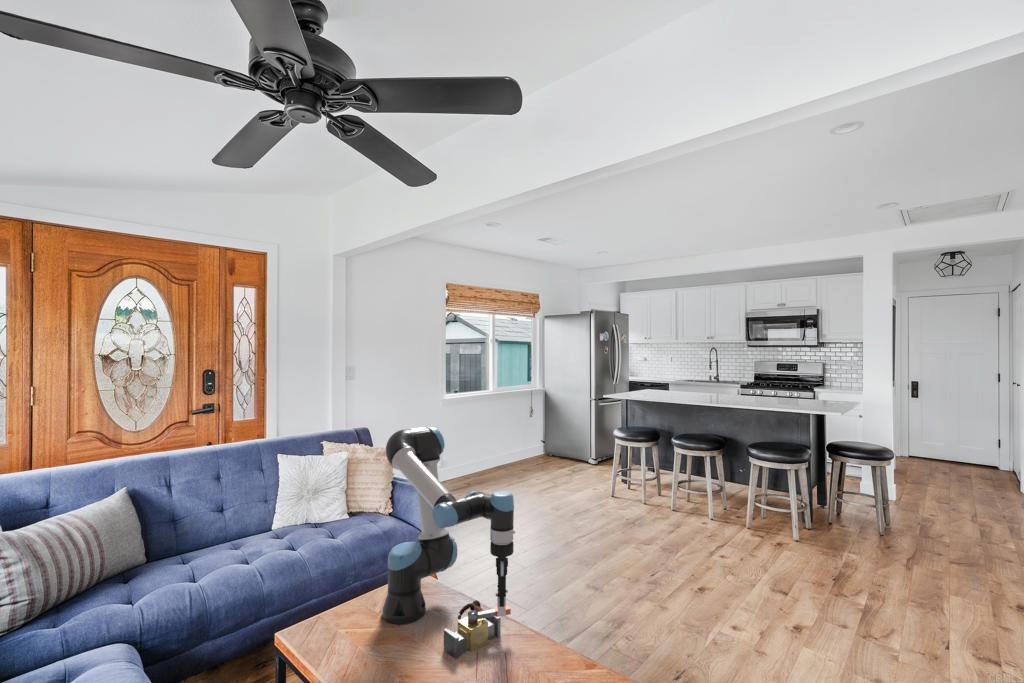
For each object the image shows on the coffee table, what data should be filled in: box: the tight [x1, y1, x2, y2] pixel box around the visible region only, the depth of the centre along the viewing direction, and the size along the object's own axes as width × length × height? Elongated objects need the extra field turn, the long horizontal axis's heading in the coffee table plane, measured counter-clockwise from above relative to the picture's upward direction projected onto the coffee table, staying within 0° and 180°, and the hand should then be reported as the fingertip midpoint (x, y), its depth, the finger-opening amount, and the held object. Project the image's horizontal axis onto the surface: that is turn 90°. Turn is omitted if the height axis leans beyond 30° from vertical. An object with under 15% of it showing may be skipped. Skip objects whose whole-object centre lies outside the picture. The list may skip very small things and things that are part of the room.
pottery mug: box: [457, 600, 485, 621], centre depth 170 cm, size 12×10×8 cm
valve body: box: [443, 616, 502, 661], centre depth 159 cm, size 7×18×7 cm, turn 132°
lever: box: [467, 605, 511, 623], centre depth 161 cm, size 14×3×2 cm, turn 110°
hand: (501, 614), depth 160 cm, fingers closed
